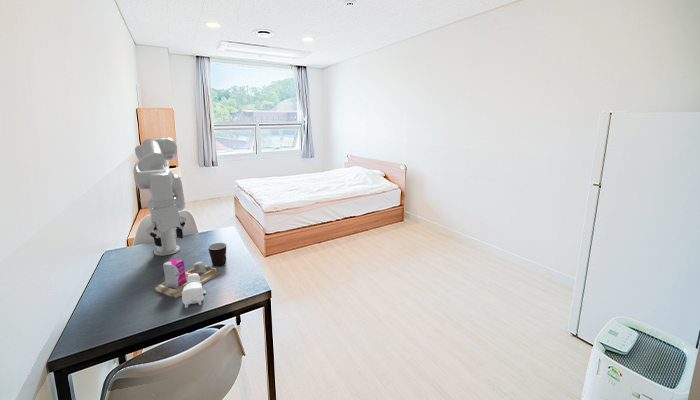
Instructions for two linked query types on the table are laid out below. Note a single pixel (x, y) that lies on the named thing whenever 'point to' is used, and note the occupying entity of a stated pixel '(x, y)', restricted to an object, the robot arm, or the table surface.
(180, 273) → the supplement box
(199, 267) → the beech caddy
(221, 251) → the coffee mug
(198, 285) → the white figurine
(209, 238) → the table surface
